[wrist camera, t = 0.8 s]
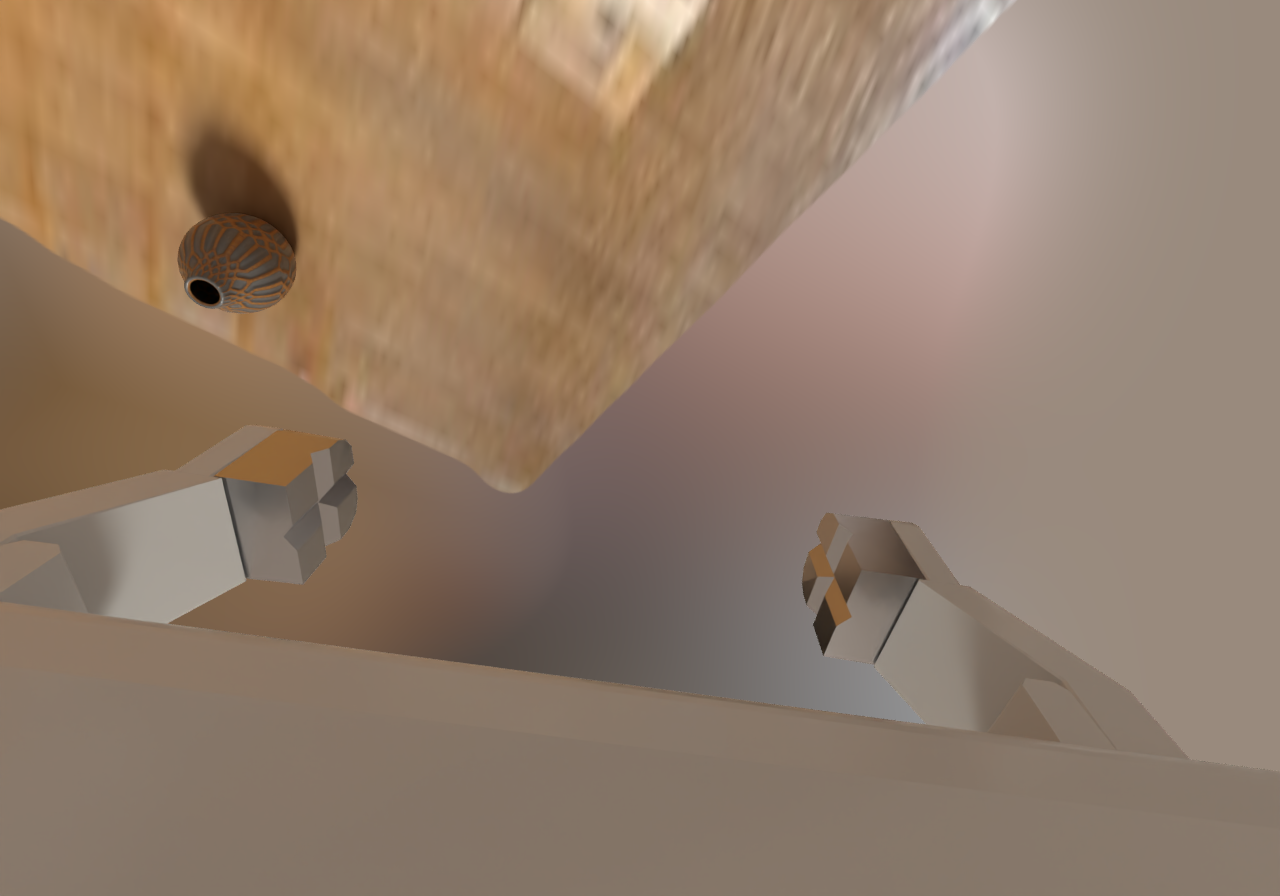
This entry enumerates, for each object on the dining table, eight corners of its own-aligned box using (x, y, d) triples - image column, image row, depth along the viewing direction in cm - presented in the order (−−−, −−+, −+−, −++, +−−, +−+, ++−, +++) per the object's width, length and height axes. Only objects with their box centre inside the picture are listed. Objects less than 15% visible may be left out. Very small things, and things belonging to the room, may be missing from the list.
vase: (205, 259, 45) (138, 307, 38) (221, 183, 41) (150, 221, 35) (296, 302, 48) (249, 353, 41) (318, 234, 44) (270, 278, 37)
